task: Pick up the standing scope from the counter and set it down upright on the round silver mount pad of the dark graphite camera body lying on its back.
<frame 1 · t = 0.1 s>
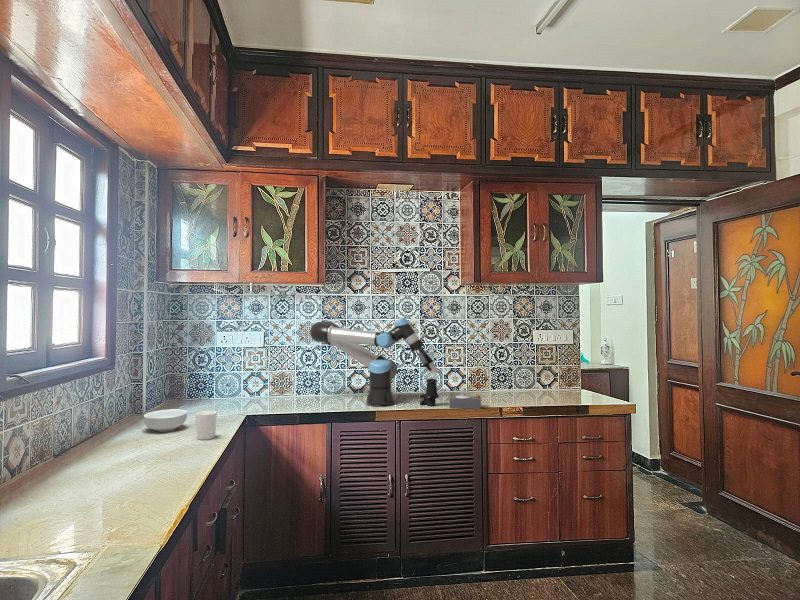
hand: (435, 374, 276), 15 cm above the worktop, tool tilted 35°, fingers open, 13 cm apart
white cup: (206, 438, 199), on the worktop
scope: (429, 405, 264), on the worktop
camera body: (465, 407, 260), on the worktop
cereal bowl: (165, 430, 212), on the worktop
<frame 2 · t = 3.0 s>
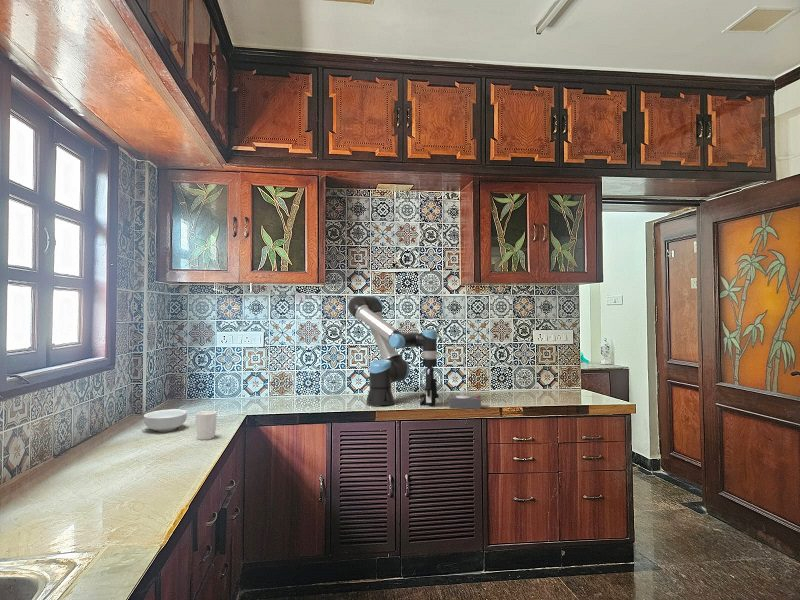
hand: (429, 400, 264), 2 cm above the worktop, tool pointing down, fingers closed on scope, 8 cm apart
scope: (429, 405, 264), on the worktop, touching gripper
everything else where it was.
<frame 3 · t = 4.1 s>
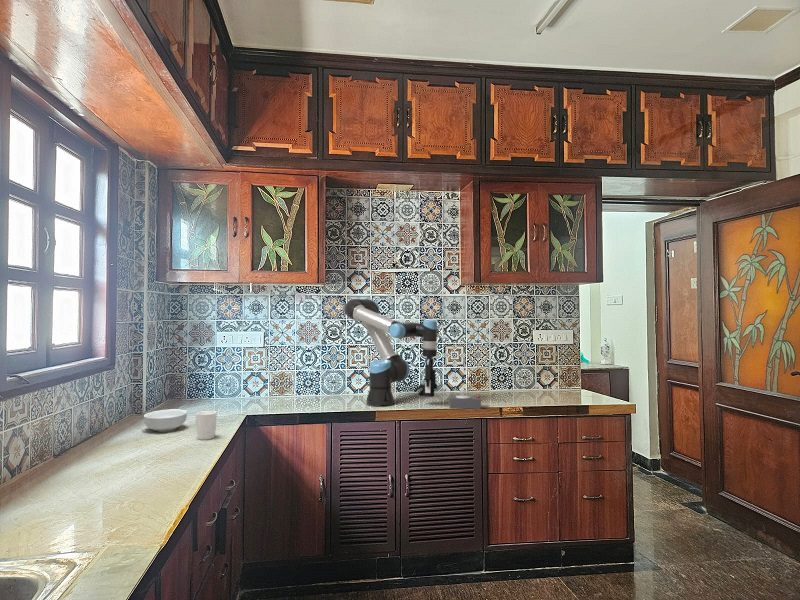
hand: (428, 391, 265), 7 cm above the worktop, tool pointing down, fingers closed on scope, 8 cm apart
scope: (428, 396, 265), point 5 cm above the worktop, touching gripper
everything else where it was.
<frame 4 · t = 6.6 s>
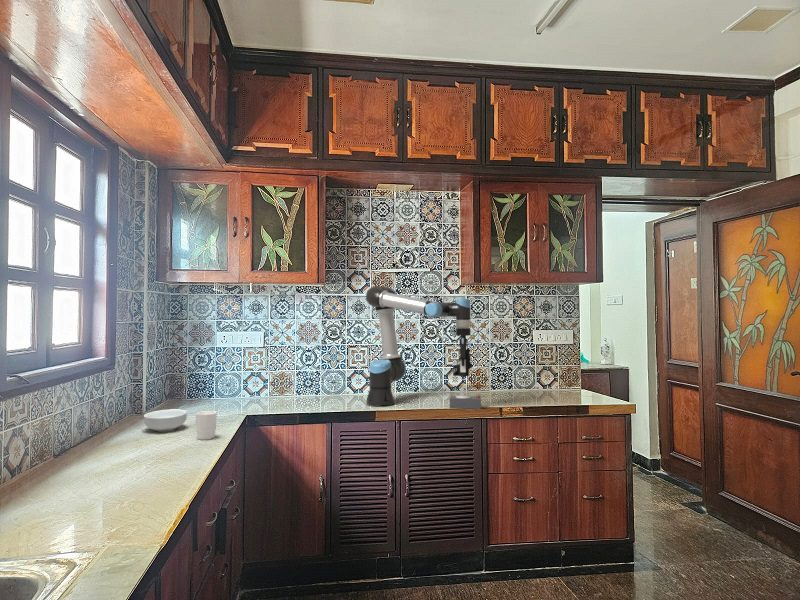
hand: (463, 371, 260), 19 cm above the worktop, tool pointing down, fingers closed on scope, 8 cm apart
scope: (463, 376, 260), point 16 cm above the worktop, touching gripper
everything else where it was.
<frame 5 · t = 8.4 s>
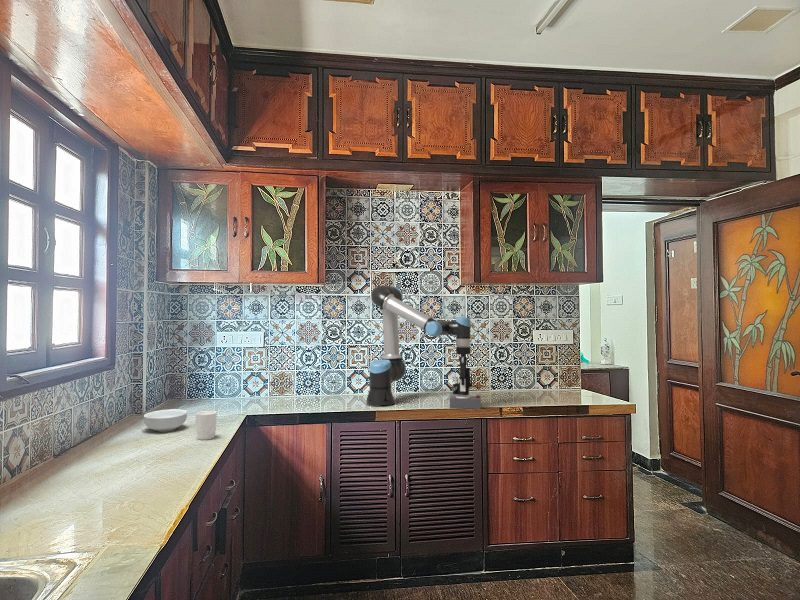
hand: (463, 389, 260), 9 cm above the worktop, tool pointing down, fingers closed on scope, 8 cm apart
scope: (463, 394, 260), point 6 cm above the worktop, touching gripper
everything else where it was.
when the fingers open (9 cm above the worktop, at t = 9.0 s): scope stays where it is, resting on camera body.
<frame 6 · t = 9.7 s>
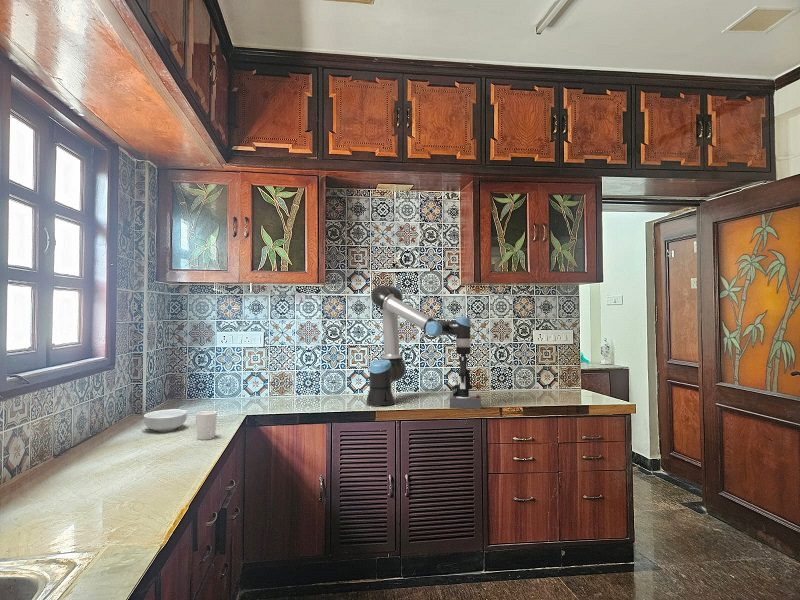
hand: (463, 386, 260), 10 cm above the worktop, tool pointing down, fingers open, 13 cm apart
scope: (462, 396, 260), point 5 cm above the worktop, touching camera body
everything else where it was.
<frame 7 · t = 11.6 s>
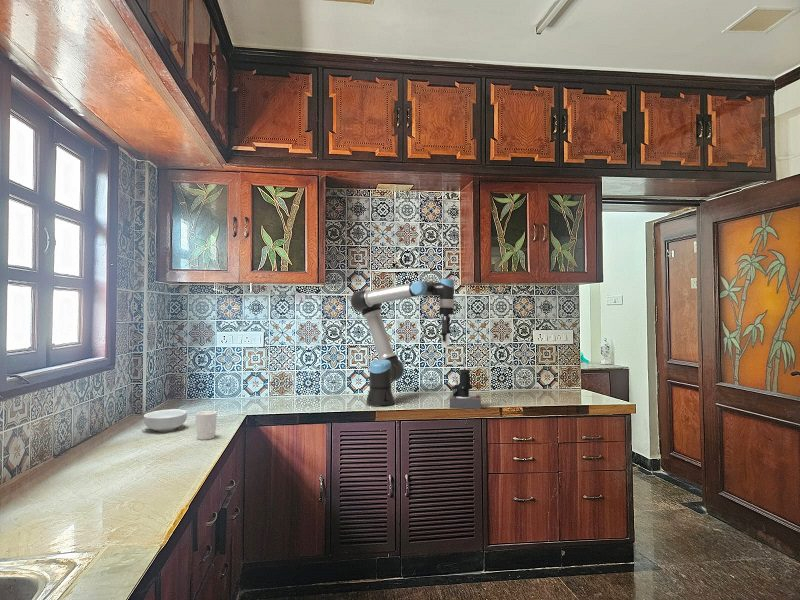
hand: (445, 346, 267), 31 cm above the worktop, tool pointing down, fingers open, 13 cm apart
nothing on the worktop moved.
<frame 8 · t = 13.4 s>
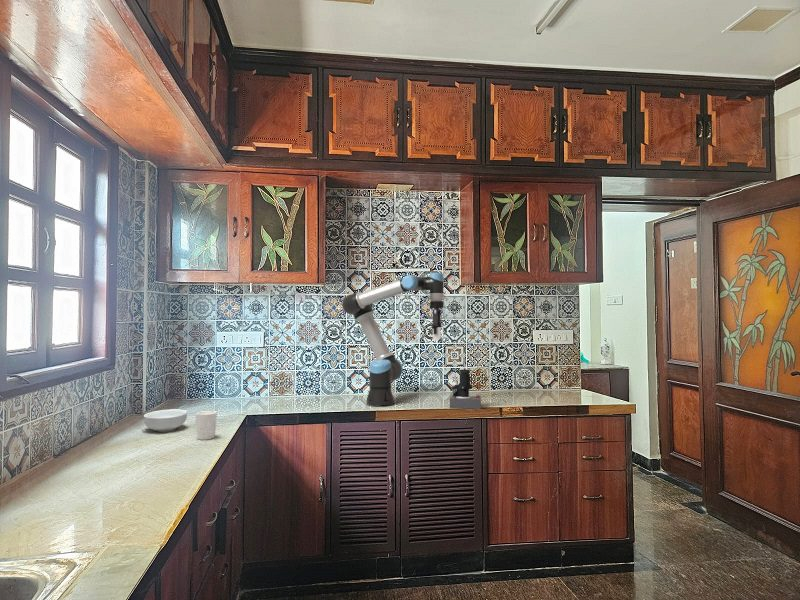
hand: (436, 339, 271), 35 cm above the worktop, tool pointing down, fingers open, 13 cm apart
nothing on the worktop moved.
at the end: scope inside the target area on the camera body (0.4 cm from its centre), point 5.3 cm above the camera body's base; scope tilted 0°; the gripper is holding nothing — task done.
